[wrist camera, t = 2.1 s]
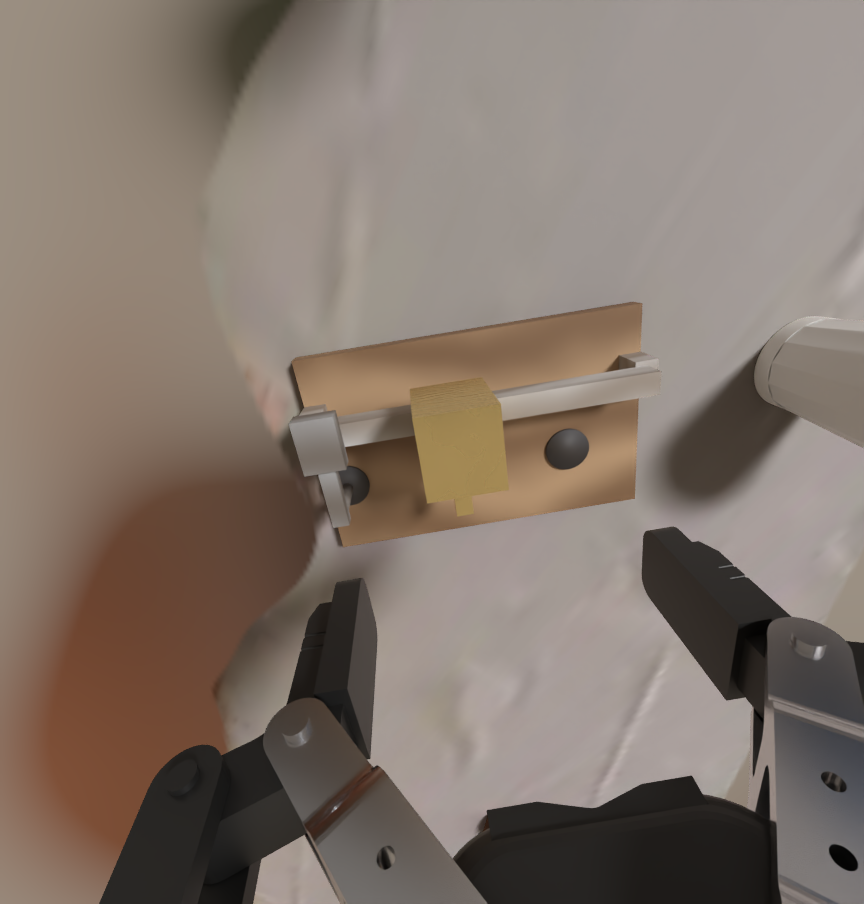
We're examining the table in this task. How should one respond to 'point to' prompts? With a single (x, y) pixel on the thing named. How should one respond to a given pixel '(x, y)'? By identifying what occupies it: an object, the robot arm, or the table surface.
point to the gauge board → (523, 414)
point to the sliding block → (459, 441)
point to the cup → (817, 373)
